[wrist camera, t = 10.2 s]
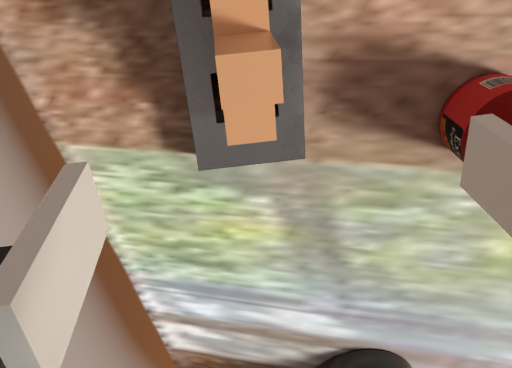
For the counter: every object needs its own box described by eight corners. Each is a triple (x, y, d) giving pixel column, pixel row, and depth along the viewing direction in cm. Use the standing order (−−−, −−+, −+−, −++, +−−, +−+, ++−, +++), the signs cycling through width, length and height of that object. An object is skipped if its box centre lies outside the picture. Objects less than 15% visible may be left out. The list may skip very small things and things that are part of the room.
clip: (265, 104, 38) (287, 173, 27) (224, 109, 38) (230, 179, 27) (253, -54, 32) (275, -47, 21) (205, -49, 32) (202, -40, 21)
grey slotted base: (298, 143, 40) (305, 158, 38) (199, 155, 40) (198, 170, 37) (289, -124, 30) (296, -130, 28) (156, -112, 30) (151, -117, 27)
